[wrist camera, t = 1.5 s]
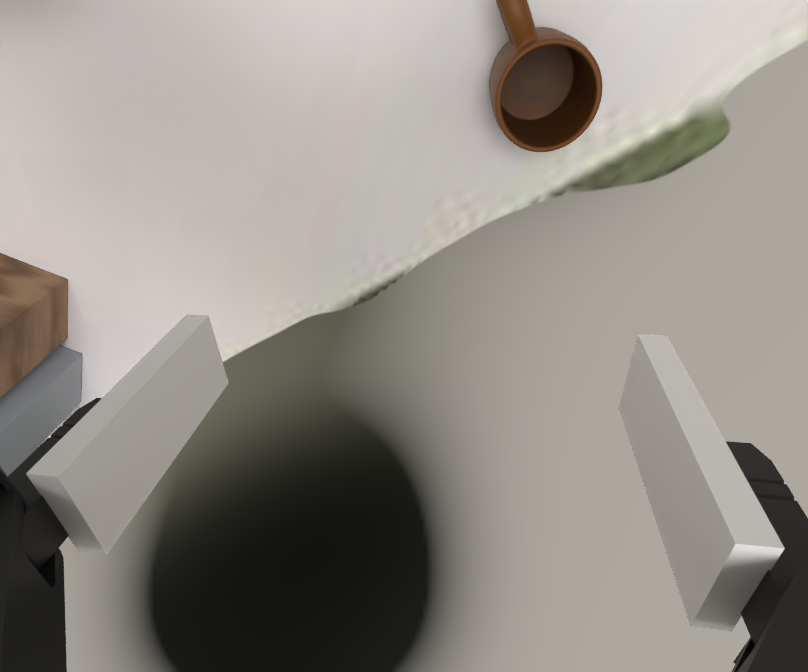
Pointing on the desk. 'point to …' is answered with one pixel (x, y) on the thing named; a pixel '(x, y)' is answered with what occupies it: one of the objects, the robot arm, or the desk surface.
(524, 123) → the mug
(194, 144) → the desk surface
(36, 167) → the desk surface
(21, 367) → the walnut post
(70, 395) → the grey stand
